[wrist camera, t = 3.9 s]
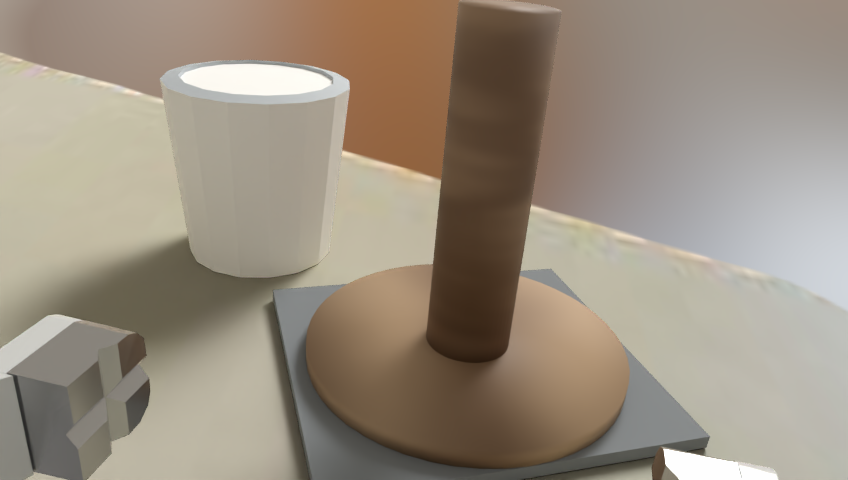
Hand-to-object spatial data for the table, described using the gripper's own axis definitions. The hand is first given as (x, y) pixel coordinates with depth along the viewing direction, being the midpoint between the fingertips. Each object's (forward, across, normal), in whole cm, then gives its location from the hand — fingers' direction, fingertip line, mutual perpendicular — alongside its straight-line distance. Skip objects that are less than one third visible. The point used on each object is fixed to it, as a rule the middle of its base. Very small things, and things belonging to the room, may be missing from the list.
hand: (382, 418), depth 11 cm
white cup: (+16, +9, +6) cm, 19 cm away
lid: (+10, 0, +6) cm, 12 cm away
